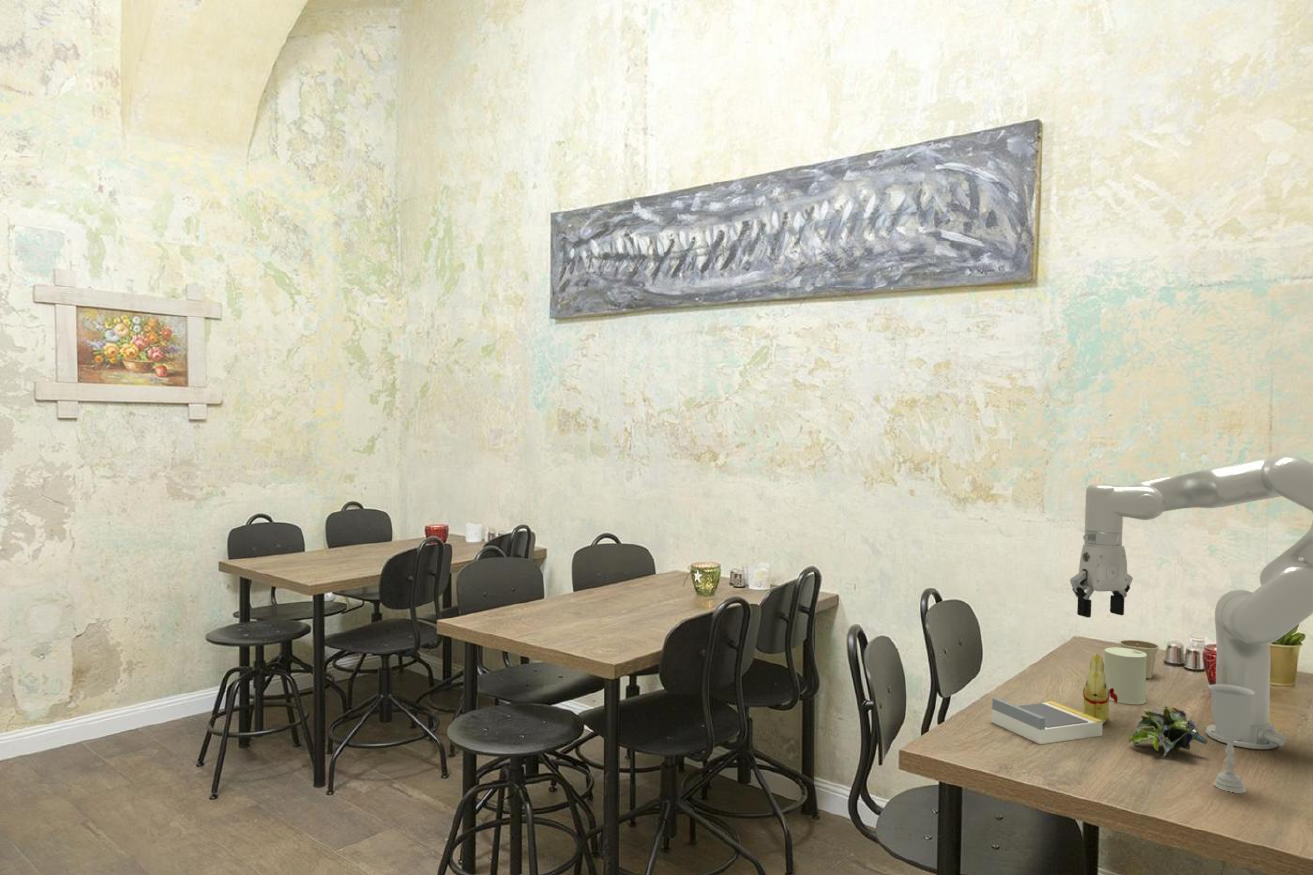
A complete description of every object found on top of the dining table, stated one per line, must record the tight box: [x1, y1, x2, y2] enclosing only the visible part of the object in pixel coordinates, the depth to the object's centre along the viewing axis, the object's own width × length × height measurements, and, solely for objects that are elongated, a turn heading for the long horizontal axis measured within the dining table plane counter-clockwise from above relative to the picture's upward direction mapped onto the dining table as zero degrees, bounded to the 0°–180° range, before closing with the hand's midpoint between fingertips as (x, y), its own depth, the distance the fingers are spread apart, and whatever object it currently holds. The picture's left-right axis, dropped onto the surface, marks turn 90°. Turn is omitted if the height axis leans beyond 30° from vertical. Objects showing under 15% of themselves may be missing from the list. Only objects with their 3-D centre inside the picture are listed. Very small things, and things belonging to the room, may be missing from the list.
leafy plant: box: [1128, 706, 1208, 760], centre depth 174 cm, size 11×11×12 cm
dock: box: [991, 697, 1103, 745], centre depth 187 cm, size 14×17×5 cm
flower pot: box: [1118, 639, 1160, 680], centre depth 230 cm, size 9×9×9 cm
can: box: [1104, 646, 1147, 706], centre depth 210 cm, size 9×9×12 cm
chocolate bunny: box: [1082, 653, 1118, 726], centre depth 193 cm, size 7×11×15 cm, turn 150°
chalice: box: [1207, 683, 1255, 794], centre depth 157 cm, size 7×7×18 cm
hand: (1100, 615), depth 192 cm, fingers open, 9 cm apart
